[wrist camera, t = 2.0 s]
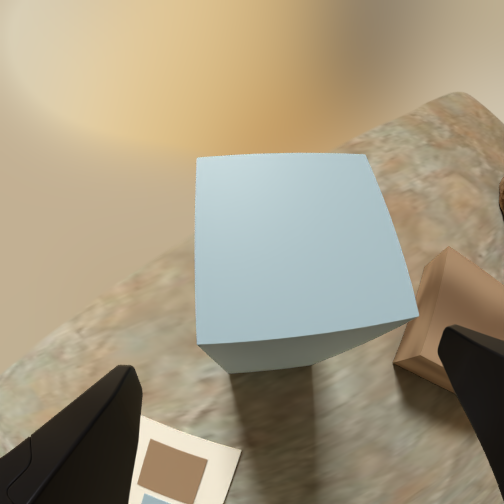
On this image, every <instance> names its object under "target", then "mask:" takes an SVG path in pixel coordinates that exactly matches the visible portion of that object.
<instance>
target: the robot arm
mask: <svg viewBox="0 0 504 504" xmlns="http://www.w3.org/2000/svg"><path fill="white" fill-rule="evenodd" d="M437 352H438V356H439V358H440V361H441V363H442V365H443V367H444V369H445V371H446V374H447V376H448V378H449V381H450V383H451V385H452V387H453V390H454V392H455V394H456V396H457V398H458V399H459V401H460V403H461V405H462V407H463V409H464V411H465V413H466V415H467V417H468V419H469V421H470V423H471V425H472V427H473V429H474V431H475V433H476V435H477V437H478V439H479V441H480V443H481V446H482V448H483V450H484V452H485V454H486V457H487V459H488V461H489V464H490V466H491V468H492V471H493V473H494V476H495V478H496V481H497V483H498V487H499V489H500V492H501V495H502V498H503V501H504V341H503V340H500V339H497V338H494V337H491V336H488V335H486V334H483V333H480V332H477V331H474V330H471V329H468V328H466V327H463V326H460V325H457V324H454V325H450V326H447V327H445V329H444V330H443V333H442V336H441V339H440V342H439V345H438V349H437ZM142 395H143V393H142V387H141V384H140V382H139V379H138V376H137V373H136V371H135V369H134V367H133V366H131V365H118V366H116V367H115V368H114V369H112V370H111V371H110V372H109V373H108V374H106V375H105V376H104V377H103V378H101V379H100V380H99V381H98V382H96V383H95V384H94V385H93V386H91V387H90V388H89V389H88V390H86V391H85V392H84V393H83V394H82V395H80V396H79V397H78V398H77V399H75V400H74V401H73V402H72V403H70V404H69V405H68V406H67V407H65V408H64V409H63V410H62V411H60V412H59V413H58V414H57V415H55V416H54V417H53V418H52V419H50V420H49V421H48V422H47V423H45V424H44V425H43V426H42V427H40V428H39V429H38V430H37V431H35V432H34V433H33V434H32V435H31V437H28V438H27V439H25V440H24V441H23V442H22V443H20V444H19V445H18V446H16V447H15V448H14V449H12V450H11V451H10V452H8V453H7V454H6V455H4V456H3V457H1V458H0V504H128V503H129V496H130V489H131V483H132V477H133V471H134V465H135V459H136V454H137V449H138V442H139V431H140V418H141V406H142Z"/></svg>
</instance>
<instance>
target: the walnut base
mask: <svg viewBox="0 0 504 504" xmlns="http://www.w3.org/2000/svg"><path fill="white" fill-rule="evenodd" d="M415 300H416V304H417V308H418V312H419V317H417V318H415V319H413V320H411V321H409V322H408V324H407V326H406V329H405V332H404V335H403V338H402V340H401V343H400V345H399V348H398V351H397V353H396V356H395V358H394V361H393V363H394V364H396V365H398V366H400V367H402V368H404V369H406V370H408V371H410V372H412V373H414V374H416V375H418V376H420V377H422V378H424V379H426V380H428V381H430V382H432V383H434V384H436V385H438V386H440V387H442V388H444V389H447V390H449V391H451V392H453V393H455V392H454V390H453V387H452V385H451V383H450V381H449V378H448V376H447V374H446V371H445V369H444V367H443V365H442V363H441V361H440V358H439V356H438V352H437V349H438V345H439V342H440V339H441V336H442V333H443V330H444V329H445V327H447V326H450V325H454V324H457V325H460V326H463V327H466V328H468V329H471V330H474V331H477V332H480V333H483V334H486V335H488V336H491V337H494V338H497V339H500V340H503V341H504V285H502V284H501V283H500V282H499V281H497V280H496V279H495V278H493V277H492V276H491V275H489V274H488V273H487V272H485V271H484V270H482V269H481V268H480V267H478V266H477V265H476V264H474V263H473V262H471V261H470V260H468V259H467V258H466V257H464V256H463V255H461V254H460V253H458V252H457V251H455V250H454V249H452V248H451V247H449V246H448V247H447V248H446V249H445V250H444V251H442V252H441V253H440V254H439V255H438V256H437V257H436V258H434V259H433V260H432V261H431V262H430V263H429V264H427V265H426V266H425V267H424V271H423V275H422V278H421V282H420V285H419V289H418V292H417V296H416V299H415Z"/></svg>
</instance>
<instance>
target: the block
mask: <svg viewBox="0 0 504 504" xmlns="http://www.w3.org/2000/svg"><path fill="white" fill-rule="evenodd" d="M499 190H500V195H499V203H500V207H501V209H502V211H503V214H504V177H503V178H502V180H501V182H500V185H499Z"/></svg>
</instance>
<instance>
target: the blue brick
mask: <svg viewBox="0 0 504 504" xmlns="http://www.w3.org/2000/svg"><path fill="white" fill-rule="evenodd" d="M195 303H196V332H197V345H198V346H199V347H200V348H201V349H202V350H203V351H204V352H206V353H207V354H208V355H209V356H210V357H211V358H212V359H213V360H214V361H215V362H216V363H218V364H219V365H220V366H221V367H222V368H223V369H224V370H225V371H226V372H228V373H229V374H231V373H245V372H257V371H268V370H277V369H286V368H294V367H302V366H309V365H313V364H316V363H318V362H321V361H323V360H326V359H328V358H331V357H333V356H336V355H338V354H341V353H343V352H345V351H348V350H350V349H352V348H355V347H357V346H359V345H362V344H364V343H366V342H368V341H370V340H373V339H375V338H377V337H379V336H381V335H383V334H385V333H387V332H389V331H391V330H393V329H395V328H397V327H399V326H401V325H403V324H405V323H407V322H409V321H411V320H413V319H415V318H417V317H419V312H418V308H417V304H416V300H415V296H414V292H413V288H412V284H411V280H410V277H409V273H408V270H407V266H406V263H405V259H404V256H403V253H402V250H401V247H400V243H399V240H398V237H397V234H396V231H395V228H394V226H393V223H392V220H391V217H390V214H389V212H388V209H387V206H386V204H385V201H384V198H383V196H382V193H381V191H380V188H379V186H378V183H377V181H376V178H375V176H374V174H373V171H372V169H371V167H370V164H369V162H368V160H367V158H366V155H364V154H339V153H272V154H271V153H270V154H245V155H227V156H214V157H202V158H197V167H196V196H195Z"/></svg>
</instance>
